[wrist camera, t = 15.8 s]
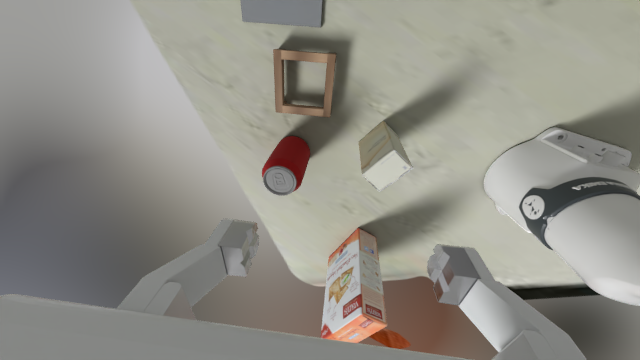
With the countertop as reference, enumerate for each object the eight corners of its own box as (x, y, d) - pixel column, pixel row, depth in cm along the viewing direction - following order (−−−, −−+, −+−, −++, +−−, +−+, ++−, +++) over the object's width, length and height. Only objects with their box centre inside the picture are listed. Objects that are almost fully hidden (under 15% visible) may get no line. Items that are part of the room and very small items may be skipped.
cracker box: (356, 225, 55) (361, 314, 38) (376, 236, 56) (390, 327, 39) (326, 256, 62) (318, 343, 45) (345, 265, 63) (344, 353, 46)
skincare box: (383, 119, 41) (395, 147, 31) (398, 136, 42) (415, 167, 32) (357, 142, 44) (360, 175, 34) (372, 157, 45) (380, 192, 35)
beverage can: (282, 166, 48) (265, 200, 38) (274, 136, 45) (253, 165, 35) (313, 163, 47) (304, 197, 37) (307, 132, 44) (295, 160, 34)
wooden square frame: (336, 53, 36) (335, 54, 34) (331, 112, 41) (329, 117, 39) (278, 48, 37) (273, 49, 34) (280, 107, 42) (275, 112, 39)
